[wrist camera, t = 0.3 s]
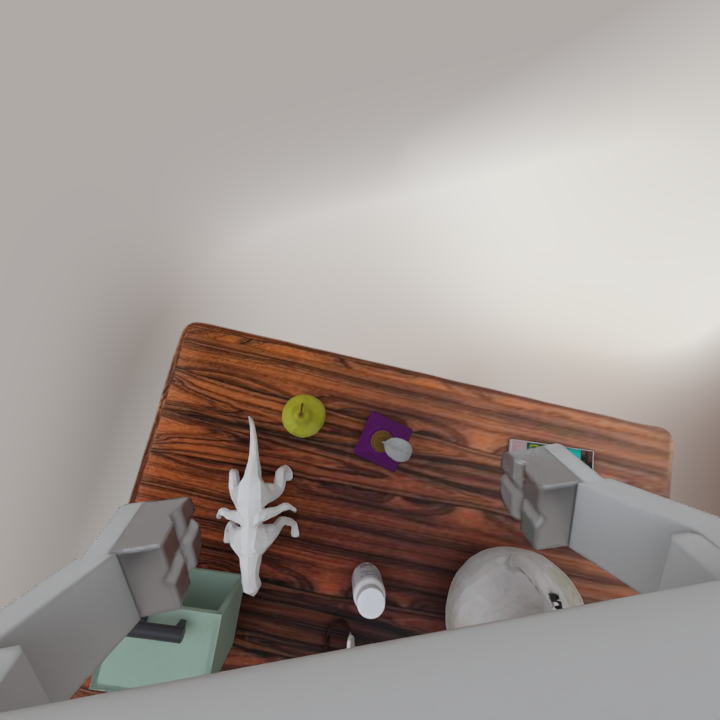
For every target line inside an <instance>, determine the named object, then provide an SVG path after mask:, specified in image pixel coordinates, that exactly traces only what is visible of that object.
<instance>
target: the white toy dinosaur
mask: <svg viewBox="0 0 720 720" xmlns="http://www.w3.org/2000/svg"><path fill="white" fill-rule="evenodd" d="M248 419H249V424H250V450H249V459H248V463H247V466H246V470H245V473H244V477H243V479H242V480H241V481H240V476H239V471H238V470H237V469H231V470H230V473H229V492H230V496H231V499H232V501H233V502H234V504H235V507H236V509H237V510H229V509H227V508H221V509H219V510H218V513H217V515H216V517H217V518H218V519H220V518H221V516H224V517H225V518H226V519H228V520H231V521H229V522H228V524H227V525H226V528H225V535H224V543H230V546H231V547H232V549H233V550H234V551H235V553H236V554H237V555H238V556H239V559H240V569H241V576H242V578H241V582H242V587H243V592H245V593H246V594H249V595H251V596H255V595H256V593H257V592H258V590H259V588H260V586H261V581H260V578H259V568H260V564H261V559H262V554H263V553H264V552H265V551H266V550H267V548H268V547H269V546H270V545H271V544H272V543H273V541H274V540H275V539H276V537H277V536H278V535H279V533H280V531H281V529H282V527H283V526H284V525H288V526H291V527H292V529H291V536H292V537H298V536H299V530H298V525H297V522H296V521H294V520H293V519H292V518H289V517H284V516H282V517H279V518H278V519H277V520H276V521H275V522H274V523H273V524H263V521H266V520H268V519H270V518H271V517H274V516H276V515H278V514H280V513H281V512H282V511H286V510H288V509H289V510H291V511H293V512H296V508H295V507H293V506H292V505H290V504H289V503H282V504H280V505H278V506H276V507H269V508H264V507H265V506H266V505H267V504H268V503H270V502H272V501H274V500H276V499H277V498H278V497H279V496H280V495H281V494H282V493H283V491H284V488H285V483H286V481H290V480H292V478H293V472H292V470H291V469H290V467H289V466H288V465H282V466H281V467H280V468H278V469H277V471H276V473H275V478H274V484H273V483H265V482H264V481H263V480H262V478H261V467H260V462H259V453H258V443H257V436H256V430H255V426H254V422H253V419H252V418H251V417H250V416H248ZM238 524H240V527H239V526H238Z"/></svg>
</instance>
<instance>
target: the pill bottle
mask: <svg viewBox="0 0 720 720" xmlns="http://www.w3.org/2000/svg"><path fill="white" fill-rule="evenodd" d="M352 587H353V597H354V602H355V604H356V606H357V608H358V611H359V613H360V614H361V615H362V616H363V617H365V618H367V619H374V618H377V617H378V616H380V615H381V614H382V612H383V610H384V608H385V589H384V585H383V581H382V578H381V574H380V571H379V570H378V568H377V567H376V566H375V565H374V564H372V563H368V562H365V563H361V564H359V565H358V566H357V567H356V568H355V569H354V571H353V574H352Z"/></svg>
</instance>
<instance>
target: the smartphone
mask: <svg viewBox="0 0 720 720" xmlns="http://www.w3.org/2000/svg"><path fill="white" fill-rule="evenodd" d="M545 445H550V444H543V443H536V442H530V441H523V440H516V439H510V440H509V450H508V452H509V451H516V450H523V449H530V448H536V447H539V446H545ZM565 448H567V449H568V450H569V451H570V452H571V453H573V454H574V455H575V456H576V457H578V458H579V459H580V460H581V461H583V462H584V463H585V464H586V465H587V466H589V467H590V468H591V469H592V470H593V463H594V452H593V451H591V450H584V449H577V448H570V447H565Z"/></svg>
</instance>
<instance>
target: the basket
mask: <svg viewBox="0 0 720 720" xmlns="http://www.w3.org/2000/svg"><path fill="white" fill-rule="evenodd" d="M189 578H190V581H191V583H190V586H189V589H188V592H187V594H186V597H185V600H184V602H183V605H182V608H181V609H180V610H175V611H170V612H165V613H160V614H155V615H150V616H145V617H140V618H141V620H140V621H139V622H138V623H137V624H136V625H135V627H134V628H133V629H132V630H131V631H130V632H129V633H128V634H127V635H126V637H125V638H124V639H123V640H122V641H121V642H120V643H119V644H118V645H117V647H116V648H115V649H114V650H113V651H112V652H111V653H110V654H109V655H108V657H107V658H106V659H105V660H104V661H103V662H102V663H101V664H100V665H99V667H98V668H97V669H96V670H95V671H94V672H93V676H92V680H91V684H90V688H89V689H92V690H100V691H108V692H114V691H120V690H125V689H130V688H136V687H141V686H147V685H152V684H158V683H163V682H169V681H174V680H179V679H185V678H190V677H196V676H201V675H206V674H212V673H217V672H220V670H221V668H222V666H223V664H224V662H225V660H226V657H227V655H228V653H229V651H230V649H231V647H232V645H233V642H234V636H235V631H236V626H237V620H238V615H239V610H240V605H241V599H242V594H243V587H242V582H241V578H242V576H241V574H239V573H231V572H224V571H217V570H210V569H203V568H194V569H193V570H192V571H191V572H190V573H189Z"/></svg>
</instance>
